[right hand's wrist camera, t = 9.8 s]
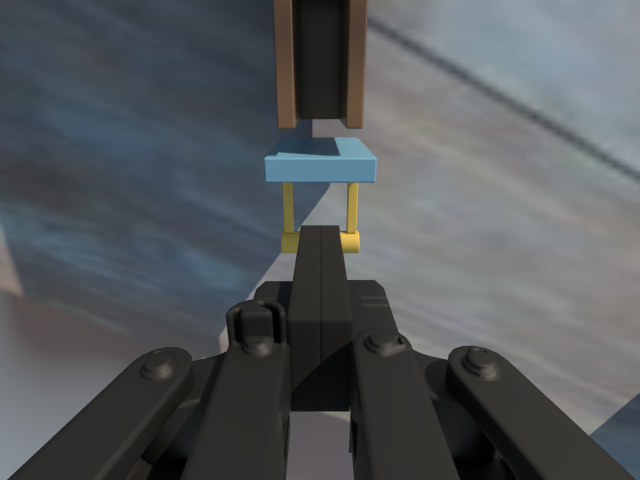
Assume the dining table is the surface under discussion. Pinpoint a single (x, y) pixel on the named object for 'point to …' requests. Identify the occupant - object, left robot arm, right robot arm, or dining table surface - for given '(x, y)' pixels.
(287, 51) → the drawer
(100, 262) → the dining table surface
